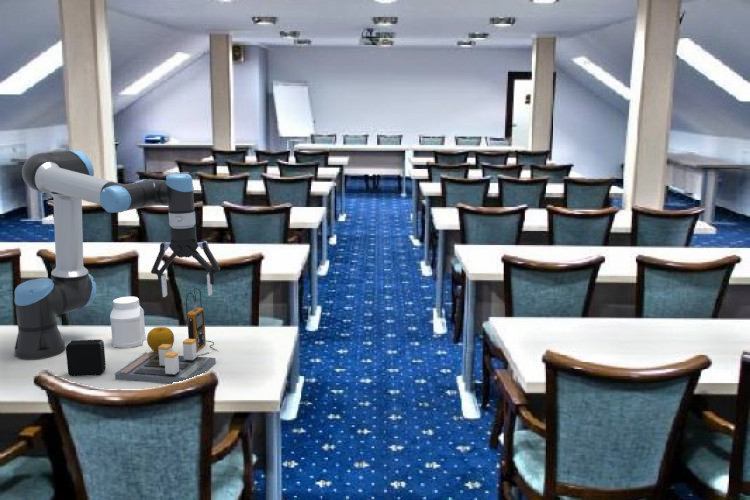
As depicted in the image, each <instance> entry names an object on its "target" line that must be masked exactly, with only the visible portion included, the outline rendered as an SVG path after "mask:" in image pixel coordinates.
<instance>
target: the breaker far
mask: <svg viewBox="0 0 750 500" xmlns="http://www.w3.org/2000/svg"><path fill="white" fill-rule="evenodd" d="M182 352H183V356H184V360H194V359H195V358H196V357H198V356H197V355H198V354H197V353H198V351H196V339H189V338H186V339H184V340H183V341H182Z"/></svg>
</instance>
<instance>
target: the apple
mask: <svg viewBox="0 0 750 500" xmlns="http://www.w3.org/2000/svg"><path fill="white" fill-rule="evenodd" d="M174 335H175V334H174V332H173V331H172V330H171V329H170V328H169V327H166V326H159V327H158V326H157V327H154V328H152V329H151V330H149V332H148V334H147V335H146V342H147V345H148V347H149V348H150V349H151V350H152V351H153V353H155V354H159V349H158V347H159V346H161V345H162V344H170V345H172V347H173V346H174V341H175V336H174Z"/></svg>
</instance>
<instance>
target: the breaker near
mask: <svg viewBox="0 0 750 500" xmlns="http://www.w3.org/2000/svg"><path fill="white" fill-rule="evenodd" d="M178 355H179V352H177V351H172V352H168V353H166V354H165V355H164V359H165V373H166V374H176V373H177V372H179V359H178Z"/></svg>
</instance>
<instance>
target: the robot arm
mask: <svg viewBox="0 0 750 500" xmlns="http://www.w3.org/2000/svg"><path fill="white" fill-rule="evenodd" d="M21 176H22V179H23V181H24V183H25V184H26V186H28V187H29V188H30V189H32V190H34V191H37V192H41V193H43V194H44V193H45V194H49V195H51V197H52V198H53V219H54V220H53V221H54V222H53V223H54V224H53V225H54V247H55V248H54V249H55V250H54V251H55V253H54V254H55V268H54V269H52V270H51V272H50V273H51V275H50V276H51V278H46V277H41V278H39V277H38V278H36V279H35V278H34V279H29V280H26V281H24V282H21V283H20V284H18V285H17V286H16V287H15V289H14V304H15V305H14V306H15V313H16V321H17V330H18V334H17V337H16V341H15V346H14V356H15V357H16V358H18V359H22V360H40V359H45V358H51V357H54V356H57V355H60V354H61V353H63V352H64V351H66V342H65V340H64V338H63V336H62V333H61V331H60V329H59V328H58V322H57V316H60V315H63V314H67V313H70V312H74V311H76V310H77V311H78V310H80V309H81V310H82V309H83V308H85V307H87V306H90V305H91V304H92V303H93V302H94V300H95V298H96V295H97V284H96V281H94V280H95V279H94V277H93V275H92V274H90V273H89V269H87V268H86V267H85V266H84V240H83V238H84V236H83V231H84V230H83V202H82V201H85V202H89V203H93V204H96V205H98V206H101V207H102V209H104V210H105V211H106V212H107V213H111V214H114V213H124V212H127V211H131V210H136V209H142V208H148V207H151V206H166V207H167V208H168V222H169V226H170V228H169V235H170V242H165V241H163V242H161V243H160V244H159V252H158V254H157V256H156V259H155V261H154V263H153V266H152V268H151V270H150V273H151V274H153V275H156V276H157V285H158V286H161V292H162V298H166V297H167V296H168V285H167V284H168V283H167V274H166V273H164V272H165V271H166V269H167V268H168V267H169V266H170V264H171V263H172V262H173V260H175V258H176V257H178V258H190V257H192V258H194V259H195V260H196V261H197V262H198V264H200V265H201V266H202V267H203V268H204V270H205V271H206V272H207V273H206V281H207V282H206V285H207V296H208V297H209V296H210V297H211V296H212V294H213V285H215V283H216V278H215V273H219V272H220V270H221V267H220V265H219V263H218V261H217V260H216V258H215V257H214V255H213V253H212V251H211V250H210V248H209V242H208V241H207V240H204V241H200V242H198V238H197V227H196V212H195V210H196V209H195V202H194V201H195V197H194V195H195V194H194V189H195V188H194V183H193V177H192V175H191V174H190V173H171V174H167V175H166V177H165V180H163V179H152V178H148V179H140V180H139V181H138V182H137V181H136V182H131V183H120V182H119V183H118V182H115V181H113V180H112V181H111V180H108V179H105V178H102V177H97V176H95V171H94V165H93V163H92V161H91V159H90V158H89V157H88V155H86V154H85V152H82V151H80V150H73V149H72V150H71V149H70V150H69V149H65V150H59V151H51V152H50V151H49V152H39V153H35V154H33V155H31V156H30V157H28V158H27V159H26V160H25V162H24V163H23V165H22V169H21ZM198 248H200V250H202V251H203V253H204V254H205V256H206V258H207V260H208V261H209V263H210V264H211V265H210V264H209V263H208V261H207V260H205V258H204V257H203V256H202V255H201V253H200V252H199V251H198ZM168 249H170V250H171V251H172V254H170V256H169V258H168V259H167V260H166V261H165V262H164V263H163V265H162V267H160V264H161V262H162V260H163V258H164V256H165V253H166V251H167V250H168Z"/></svg>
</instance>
